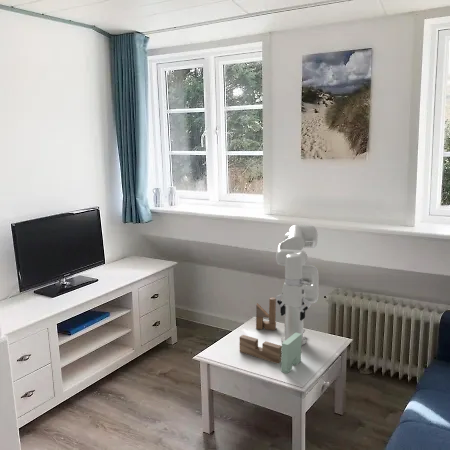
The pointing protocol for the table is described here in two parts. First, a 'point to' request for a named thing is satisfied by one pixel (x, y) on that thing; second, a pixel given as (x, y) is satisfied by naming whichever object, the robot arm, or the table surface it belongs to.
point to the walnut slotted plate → (261, 349)
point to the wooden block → (266, 316)
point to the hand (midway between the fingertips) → (292, 317)
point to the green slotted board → (291, 352)
